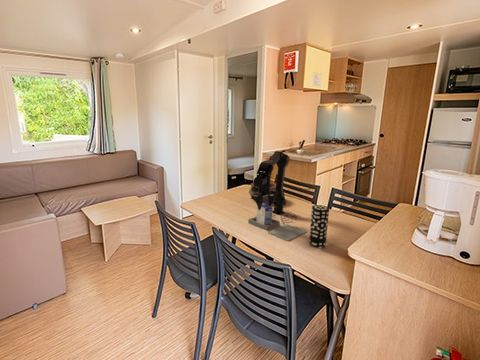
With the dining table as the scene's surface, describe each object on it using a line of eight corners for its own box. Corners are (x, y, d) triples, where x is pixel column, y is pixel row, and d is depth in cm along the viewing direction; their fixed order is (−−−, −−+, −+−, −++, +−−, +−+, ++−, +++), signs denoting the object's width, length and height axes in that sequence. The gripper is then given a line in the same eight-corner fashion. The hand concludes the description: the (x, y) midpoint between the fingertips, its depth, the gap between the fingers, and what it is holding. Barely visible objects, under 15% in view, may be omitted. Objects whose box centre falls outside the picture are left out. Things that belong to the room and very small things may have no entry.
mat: (286, 224, 163) (287, 223, 163) (306, 232, 153) (306, 231, 153) (267, 233, 151) (267, 232, 151) (288, 241, 141) (288, 240, 141)
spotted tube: (306, 240, 143) (309, 205, 138) (321, 240, 143) (325, 204, 139) (312, 248, 135) (315, 210, 130) (328, 247, 135) (332, 210, 131)
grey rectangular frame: (261, 218, 173) (261, 214, 172) (279, 225, 162) (279, 221, 162) (248, 223, 165) (248, 219, 164) (266, 230, 154) (266, 226, 154)
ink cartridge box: (272, 226, 160) (273, 203, 157) (264, 228, 158) (265, 204, 155) (263, 220, 169) (264, 198, 166) (256, 222, 167) (256, 200, 163)
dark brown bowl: (249, 196, 221) (250, 177, 217) (279, 198, 217) (280, 178, 214) (246, 205, 197) (247, 184, 194) (279, 207, 194) (280, 185, 191)
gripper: (265, 178, 169) (264, 202, 173) (244, 183, 157) (244, 208, 160) (279, 181, 162) (278, 206, 165) (258, 187, 149) (257, 213, 153)
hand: (264, 208), depth 161 cm, fingers open, 9 cm apart
